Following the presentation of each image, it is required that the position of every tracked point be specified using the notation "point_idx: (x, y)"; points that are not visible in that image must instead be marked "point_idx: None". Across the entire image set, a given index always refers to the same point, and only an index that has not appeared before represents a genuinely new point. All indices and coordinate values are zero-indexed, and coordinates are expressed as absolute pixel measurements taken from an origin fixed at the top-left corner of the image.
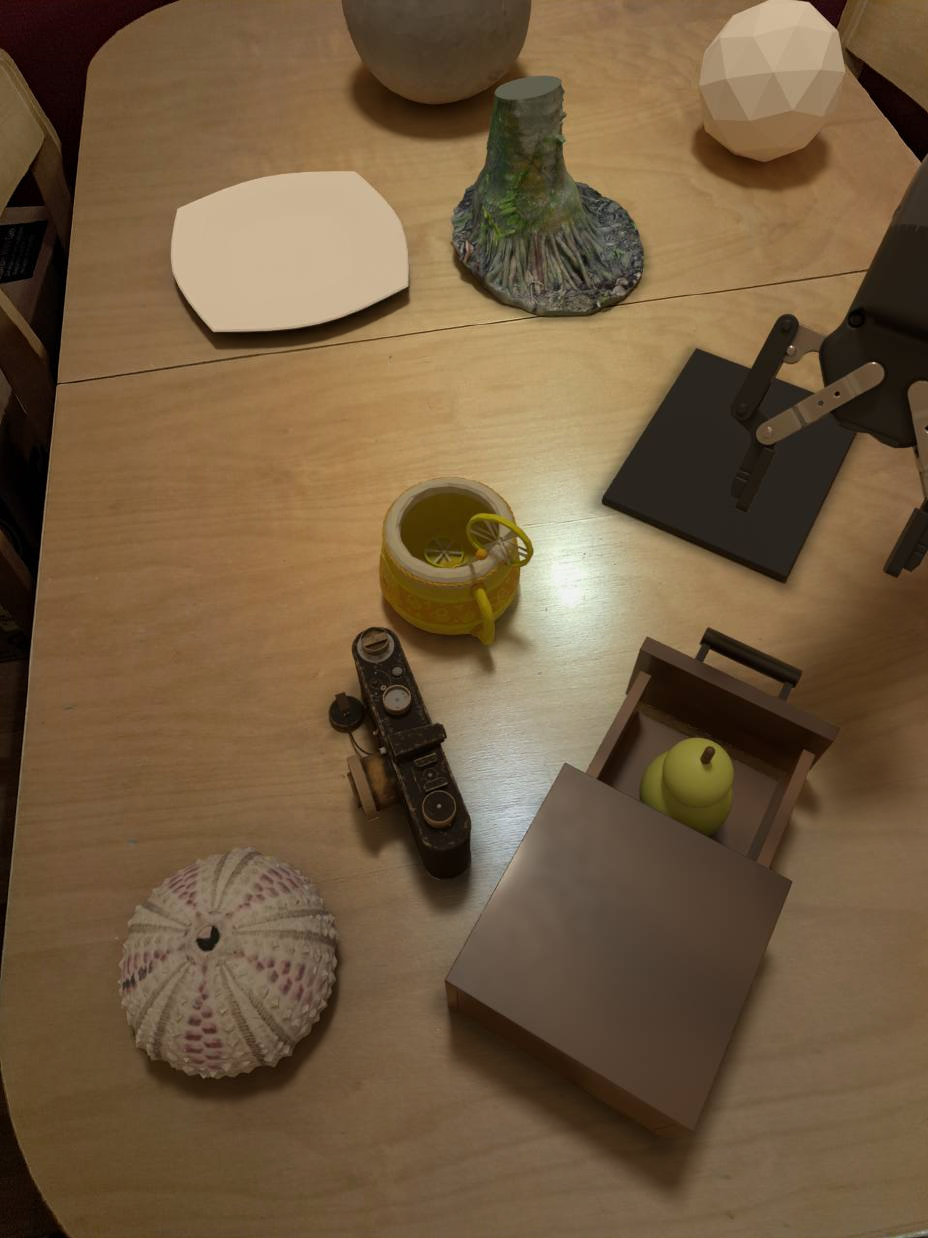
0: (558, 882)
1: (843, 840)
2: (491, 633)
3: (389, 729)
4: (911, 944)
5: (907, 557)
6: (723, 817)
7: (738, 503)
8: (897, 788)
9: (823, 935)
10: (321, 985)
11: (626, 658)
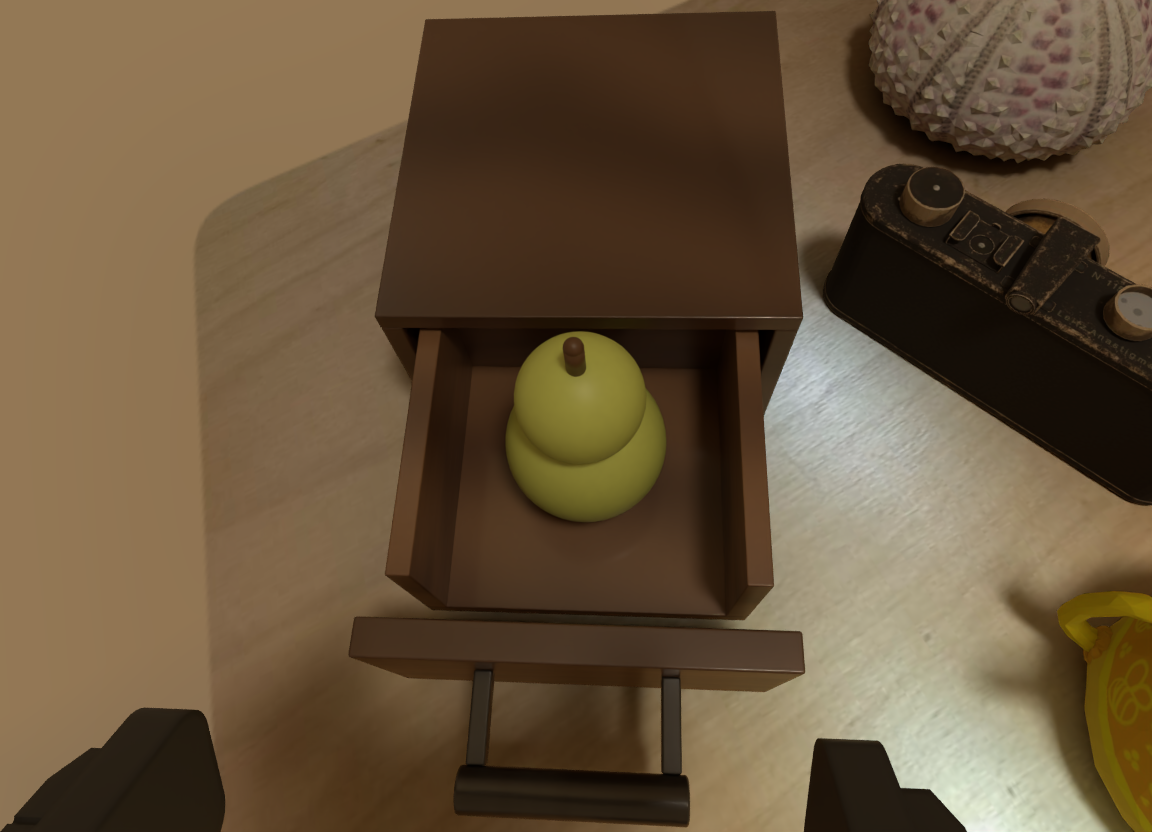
0: (707, 160)
1: (326, 590)
2: (1081, 598)
3: (1100, 275)
4: (212, 485)
5: (91, 762)
6: (512, 410)
7: (875, 747)
8: (249, 732)
9: (333, 439)
10: (896, 46)
11: (800, 756)
